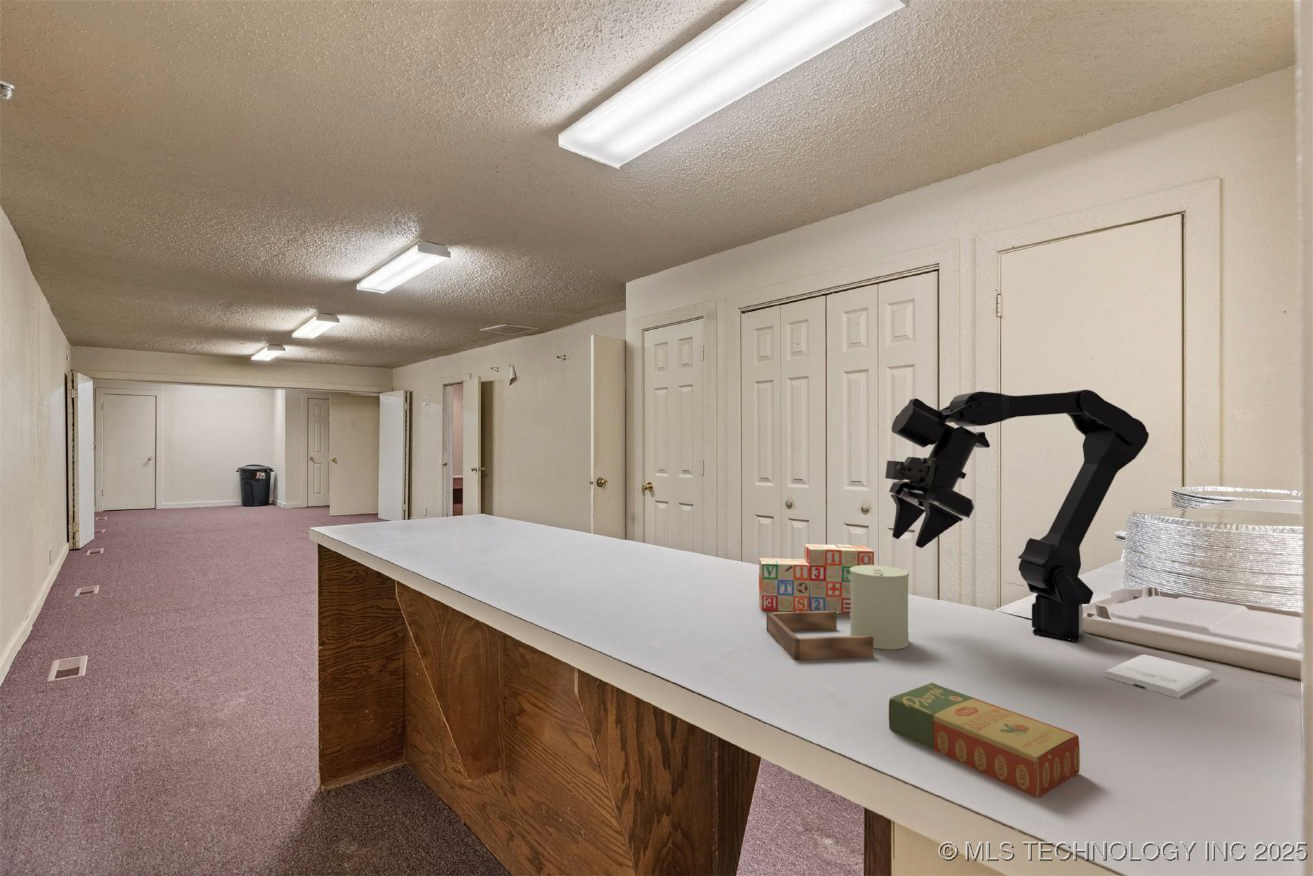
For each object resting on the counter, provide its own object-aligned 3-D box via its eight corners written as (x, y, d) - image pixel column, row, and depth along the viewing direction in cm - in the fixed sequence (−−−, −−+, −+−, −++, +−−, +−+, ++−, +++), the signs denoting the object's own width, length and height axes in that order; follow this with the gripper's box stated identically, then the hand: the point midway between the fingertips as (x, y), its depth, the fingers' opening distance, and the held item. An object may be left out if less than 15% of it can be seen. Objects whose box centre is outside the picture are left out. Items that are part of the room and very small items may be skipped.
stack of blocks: (760, 611, 117) (761, 547, 117) (758, 603, 123) (758, 542, 123) (874, 615, 115) (874, 550, 115) (866, 606, 121) (866, 544, 121)
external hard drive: (1213, 682, 84) (1177, 702, 77) (1141, 664, 91) (1103, 680, 84) (1212, 670, 84) (1177, 689, 77) (1141, 653, 91) (1103, 669, 84)
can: (847, 645, 97) (847, 570, 97) (851, 629, 105) (851, 560, 106) (909, 653, 93) (909, 575, 94) (909, 635, 102) (908, 564, 102)
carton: (1037, 803, 55) (1036, 756, 55) (886, 732, 69) (886, 694, 69) (1080, 776, 59) (1080, 732, 59) (931, 714, 73) (930, 679, 73)
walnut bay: (834, 627, 106) (834, 610, 106) (873, 656, 92) (873, 637, 92) (766, 630, 105) (766, 612, 105) (794, 659, 90) (794, 639, 90)
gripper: (883, 439, 112) (845, 514, 112) (930, 438, 93) (885, 528, 93) (936, 466, 112) (899, 541, 112) (994, 470, 94) (949, 561, 93)
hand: (906, 542), depth 103 cm, fingers open, 9 cm apart
